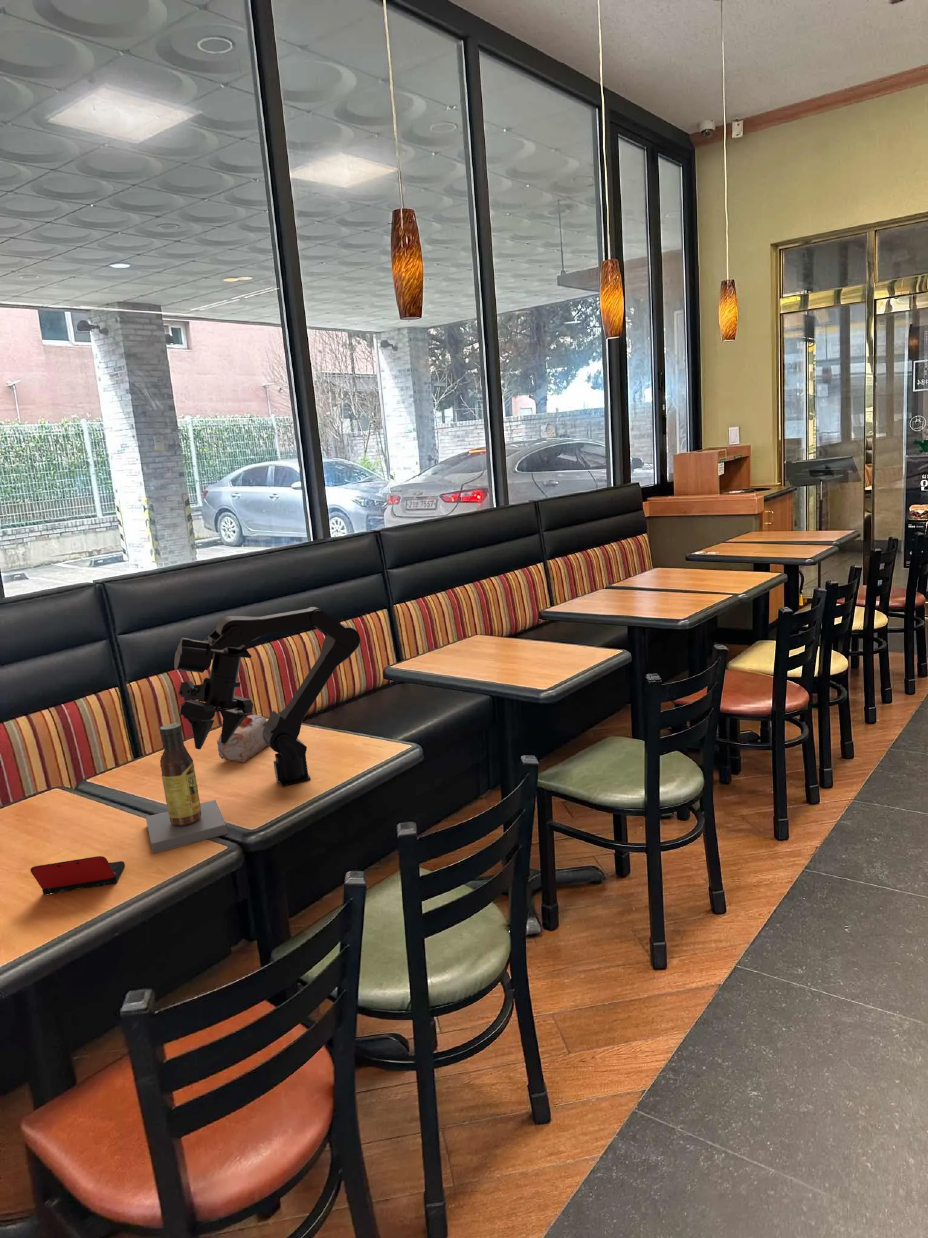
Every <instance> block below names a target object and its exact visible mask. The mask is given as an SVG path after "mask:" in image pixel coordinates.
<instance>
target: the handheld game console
mask: <svg viewBox="0 0 928 1238" xmlns="http://www.w3.org/2000/svg"><path fill="white" fill-rule="evenodd" d="M125 866H126V865H125V862H124V860H123V861H121V860H118V861H114V862H109V861H108V859H107V858H106V857H105V856H103V855H102V856H101V855H99V856H98V855H97V856H92V857H91V856H90V857H85V858H80V859H79V858H78V859H71V860H66V861H60V862H54V863H48V864H47V863H46V864H41V865H35V866H32V867H31V868H30V873H31V875H32V876H33V878H34V879H35V880H36V883H38V885H39V886H40V888H41V890H42V894H43V895H44V896H48V895H47V894H50V893H55V894H59V893H58V892H61V893H67V892H73V891H76V890H78V888H79V889H92V888H98V887H106V886H112V885H115V884H117V883H118V881H119V879H120V876H121V875H122V873H123V871H124V870H125V869H124V868H125ZM50 895H51V894H50Z"/></svg>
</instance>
